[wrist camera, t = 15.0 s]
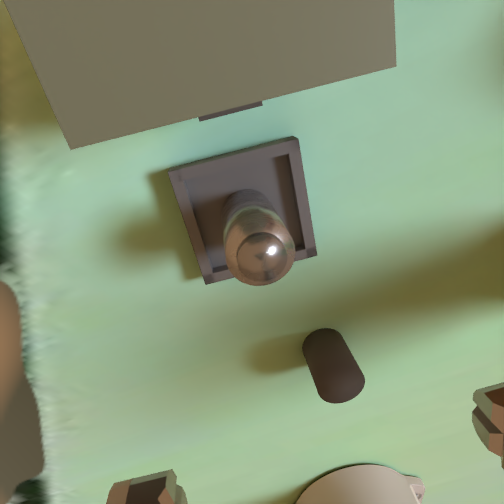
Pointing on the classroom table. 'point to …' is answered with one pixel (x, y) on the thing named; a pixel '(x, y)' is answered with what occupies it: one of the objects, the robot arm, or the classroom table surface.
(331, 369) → the cylinder
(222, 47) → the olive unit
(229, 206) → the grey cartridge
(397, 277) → the classroom table surface
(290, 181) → the tray
